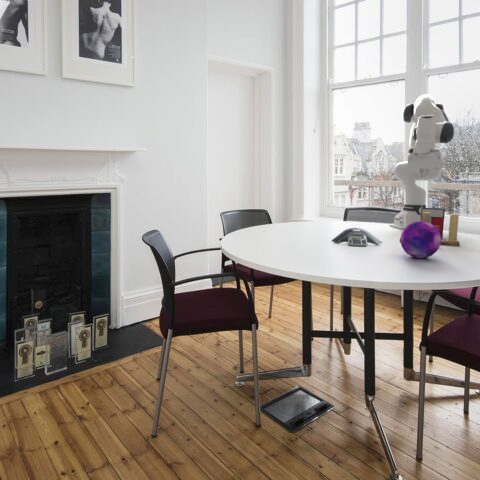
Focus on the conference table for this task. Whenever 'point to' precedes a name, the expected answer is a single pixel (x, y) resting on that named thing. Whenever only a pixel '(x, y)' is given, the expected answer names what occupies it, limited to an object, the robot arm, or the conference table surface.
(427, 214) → the sliding leg
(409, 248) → the decorative orb
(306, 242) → the conference table surface
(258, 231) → the conference table surface
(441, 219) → the red and grey box
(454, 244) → the rail
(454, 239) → the fixed leg
